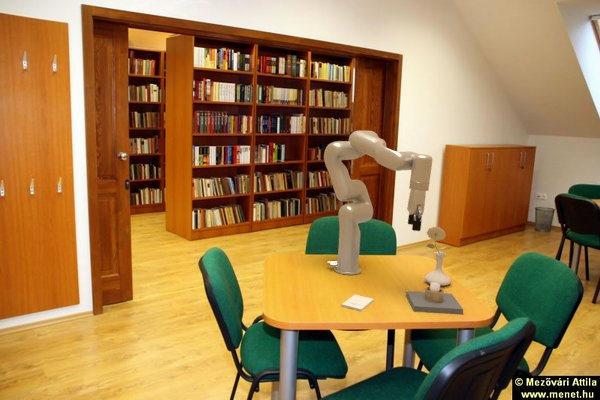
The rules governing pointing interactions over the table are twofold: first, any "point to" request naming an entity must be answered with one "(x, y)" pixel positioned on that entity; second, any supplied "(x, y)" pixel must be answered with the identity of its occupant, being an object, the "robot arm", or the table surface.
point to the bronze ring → (434, 295)
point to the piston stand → (424, 306)
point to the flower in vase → (437, 274)
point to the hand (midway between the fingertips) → (413, 227)
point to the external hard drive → (357, 302)
